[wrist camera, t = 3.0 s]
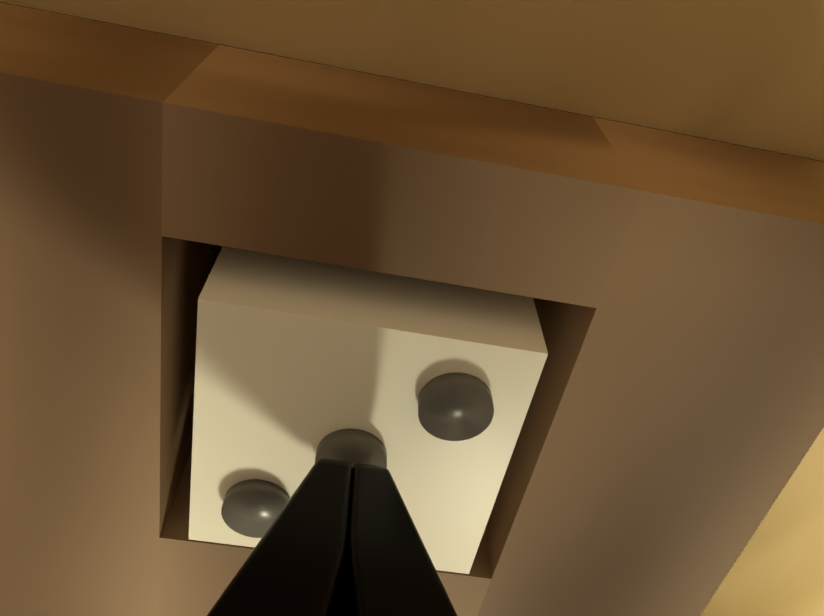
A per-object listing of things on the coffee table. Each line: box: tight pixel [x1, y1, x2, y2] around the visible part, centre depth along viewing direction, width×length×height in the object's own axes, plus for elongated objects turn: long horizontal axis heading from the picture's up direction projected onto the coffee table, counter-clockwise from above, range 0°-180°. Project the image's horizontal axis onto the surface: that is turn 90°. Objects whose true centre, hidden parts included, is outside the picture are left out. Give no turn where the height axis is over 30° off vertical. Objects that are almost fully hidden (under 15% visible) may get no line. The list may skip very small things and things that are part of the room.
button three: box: [189, 246, 548, 574], centre depth 10 cm, size 4×4×3 cm
